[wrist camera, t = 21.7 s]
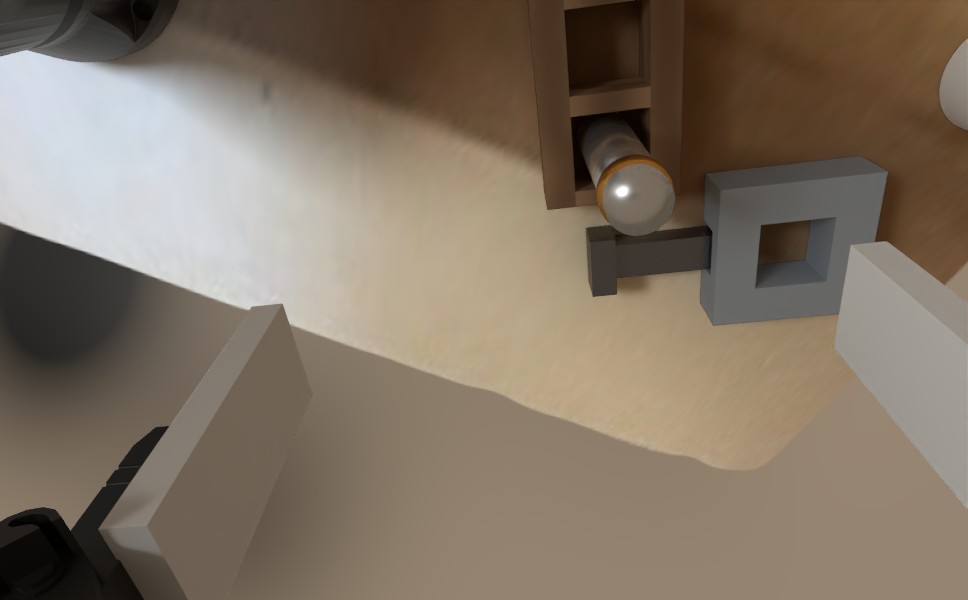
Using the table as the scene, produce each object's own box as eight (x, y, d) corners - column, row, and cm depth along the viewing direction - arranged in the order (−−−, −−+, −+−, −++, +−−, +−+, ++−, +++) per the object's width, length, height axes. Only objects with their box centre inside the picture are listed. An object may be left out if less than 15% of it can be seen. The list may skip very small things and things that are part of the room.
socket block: (699, 302, 56) (712, 325, 53) (705, 173, 51) (720, 190, 47) (838, 288, 55) (861, 311, 52) (860, 155, 50) (887, 171, 46)
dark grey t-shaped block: (588, 280, 55) (592, 296, 53) (585, 227, 53) (590, 242, 50) (704, 268, 54) (714, 284, 52) (706, 214, 52) (717, 228, 49)
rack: (544, 192, 52) (547, 209, 48) (526, -10, 44) (529, -6, 41) (667, 177, 51) (680, 194, 47) (670, -30, 44) (685, -28, 40)
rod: (576, 165, 51) (602, 242, 37) (573, 110, 48) (600, 171, 35) (631, 159, 50) (677, 234, 37) (631, 103, 48) (679, 162, 35)
